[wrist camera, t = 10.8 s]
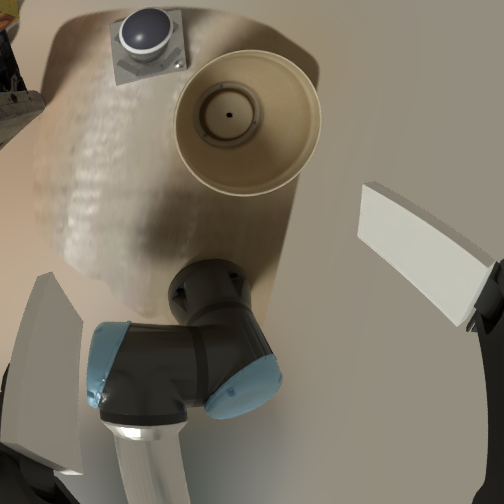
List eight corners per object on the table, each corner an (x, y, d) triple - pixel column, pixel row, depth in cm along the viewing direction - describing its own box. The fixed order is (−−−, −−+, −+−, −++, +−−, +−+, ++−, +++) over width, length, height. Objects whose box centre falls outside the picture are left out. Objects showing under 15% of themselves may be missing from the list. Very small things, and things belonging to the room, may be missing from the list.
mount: (185, 70, 28) (188, 68, 26) (117, 85, 26) (114, 85, 24) (180, 11, 23) (182, 6, 21) (110, 25, 21) (107, 21, 19)
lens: (166, 24, 23) (172, 1, 15) (169, 58, 26) (175, 46, 18) (126, 32, 22) (117, 12, 14) (129, 67, 24) (120, 58, 17)
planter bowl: (265, 175, 41) (298, 204, 32) (158, 162, 34) (161, 189, 26) (294, 77, 33) (339, 79, 25) (183, 48, 26) (196, 32, 18)
